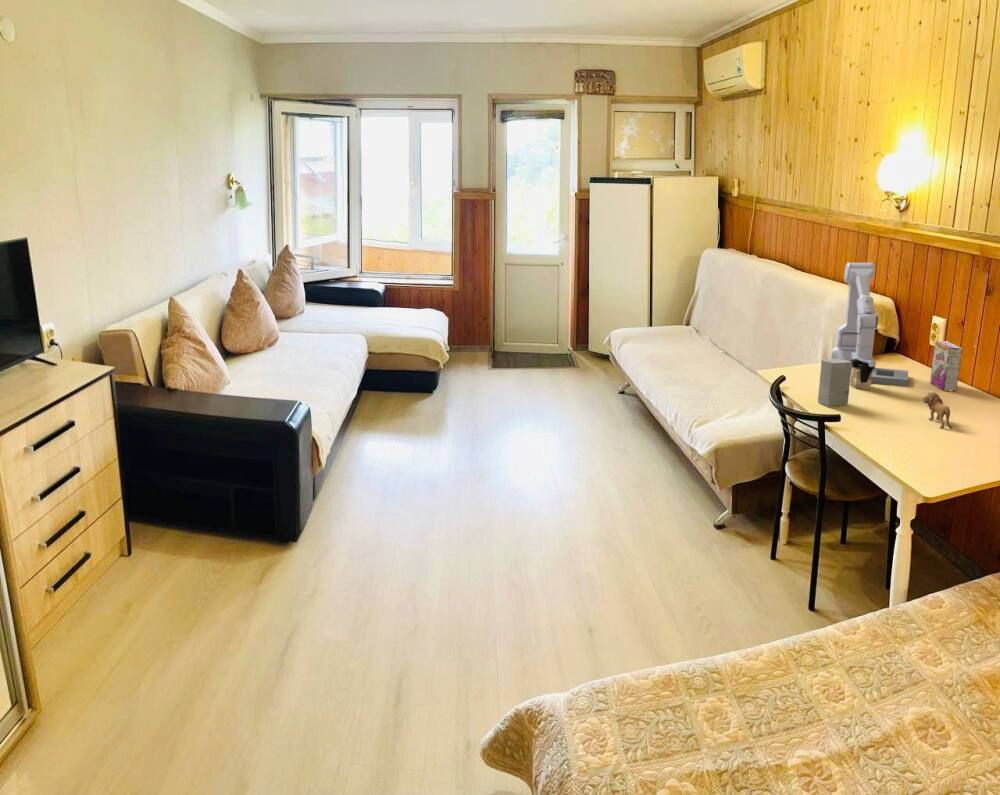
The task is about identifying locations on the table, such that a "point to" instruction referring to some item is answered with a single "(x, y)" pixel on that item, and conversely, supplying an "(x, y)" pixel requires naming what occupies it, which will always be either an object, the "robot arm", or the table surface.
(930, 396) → the lion figurine
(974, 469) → the table surface
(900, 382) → the socket plate
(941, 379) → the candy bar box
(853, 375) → the keyed plug
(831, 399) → the skincare box
